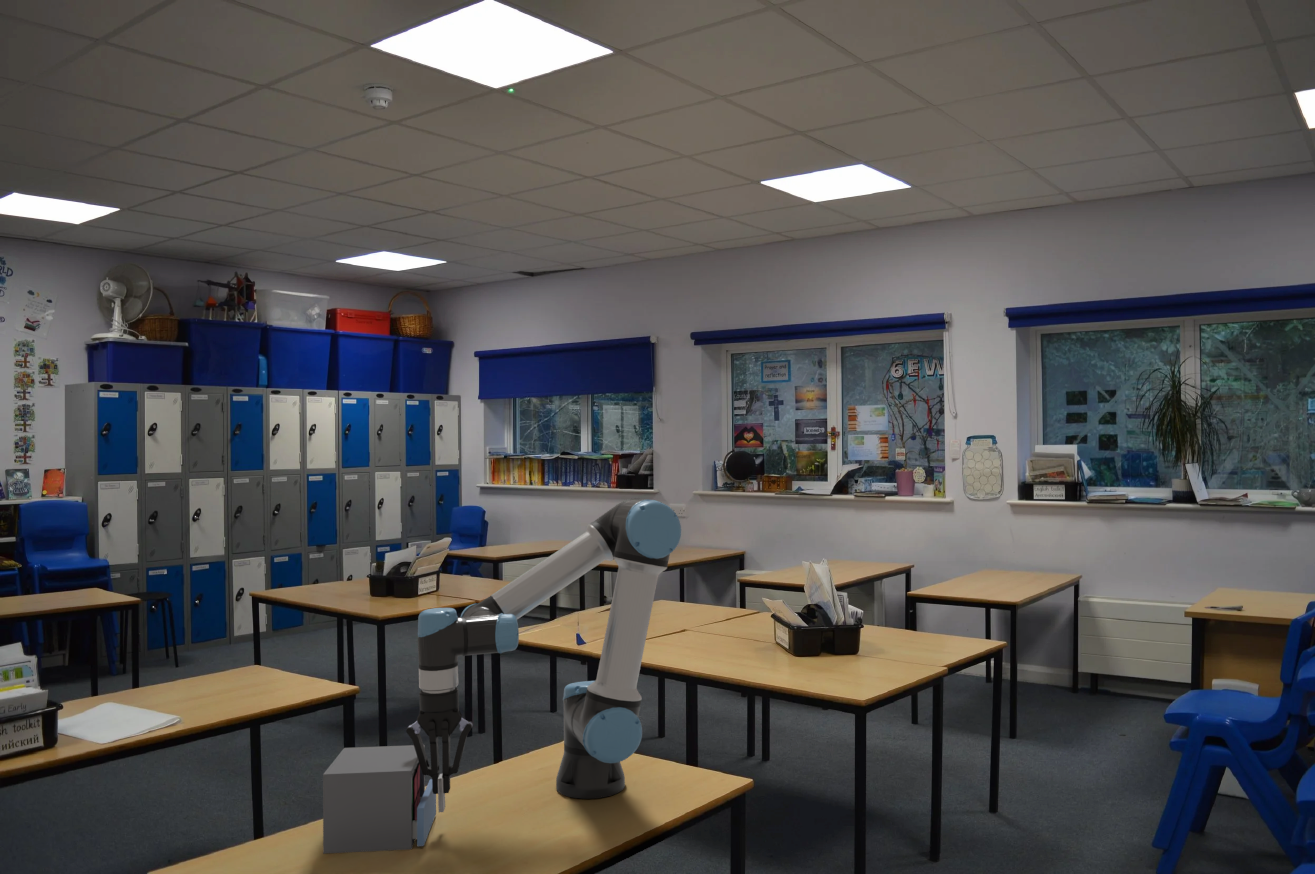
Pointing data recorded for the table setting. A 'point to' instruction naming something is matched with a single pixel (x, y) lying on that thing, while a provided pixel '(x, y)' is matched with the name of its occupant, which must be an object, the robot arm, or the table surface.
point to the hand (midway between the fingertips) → (441, 809)
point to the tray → (424, 815)
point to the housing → (369, 799)
